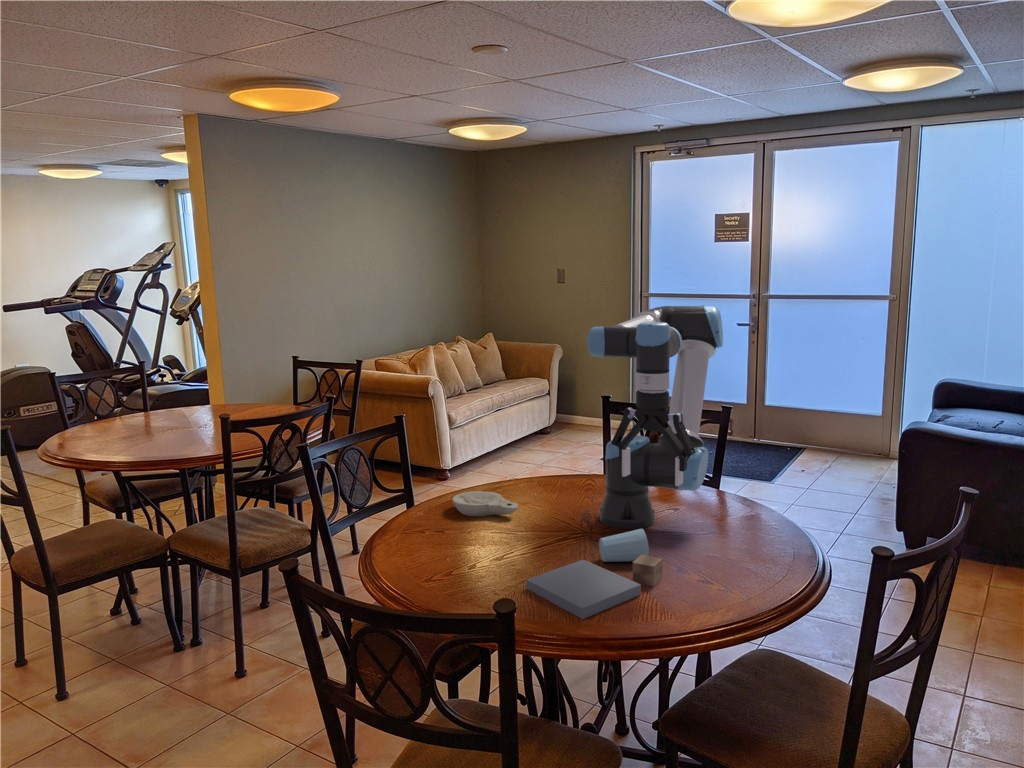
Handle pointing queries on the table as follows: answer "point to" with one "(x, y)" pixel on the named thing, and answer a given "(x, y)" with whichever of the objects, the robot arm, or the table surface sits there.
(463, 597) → the table surface
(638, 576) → the walnut block
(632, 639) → the table surface
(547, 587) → the plinth
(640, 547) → the cup
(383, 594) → the table surface
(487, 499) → the oil lamp
